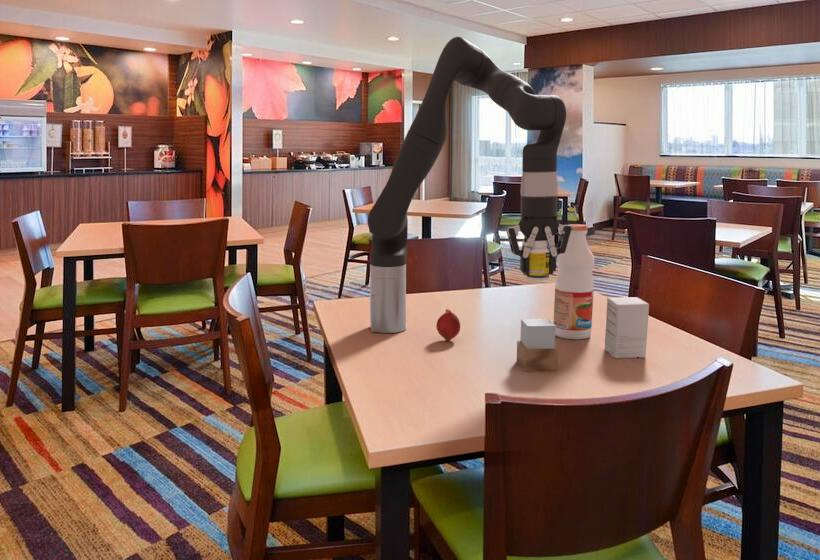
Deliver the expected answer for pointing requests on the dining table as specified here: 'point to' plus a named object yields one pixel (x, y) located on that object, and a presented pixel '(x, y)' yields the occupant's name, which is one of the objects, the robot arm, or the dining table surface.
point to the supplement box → (626, 327)
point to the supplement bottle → (539, 261)
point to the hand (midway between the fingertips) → (538, 273)
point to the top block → (538, 333)
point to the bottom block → (536, 359)
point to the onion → (448, 325)
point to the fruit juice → (574, 287)
